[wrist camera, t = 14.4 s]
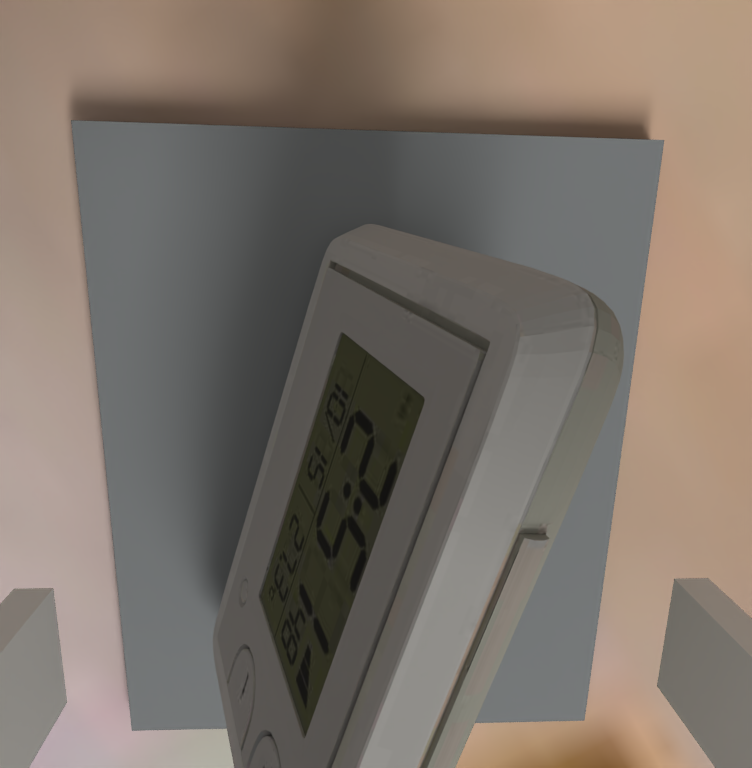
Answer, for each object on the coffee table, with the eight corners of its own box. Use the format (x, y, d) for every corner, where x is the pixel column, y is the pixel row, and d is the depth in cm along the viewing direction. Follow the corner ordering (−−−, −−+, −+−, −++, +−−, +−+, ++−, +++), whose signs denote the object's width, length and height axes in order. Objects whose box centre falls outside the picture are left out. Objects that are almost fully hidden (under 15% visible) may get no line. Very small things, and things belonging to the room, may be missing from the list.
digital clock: (357, 192, 18) (373, 148, 8) (591, 331, 20) (856, 443, 10) (141, 598, 22) (-43, 935, 11) (358, 691, 23) (369, 1062, 13)
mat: (576, 705, 25) (584, 720, 24) (138, 714, 24) (131, 730, 23) (651, 143, 19) (664, 140, 18) (82, 124, 18) (71, 120, 17)
